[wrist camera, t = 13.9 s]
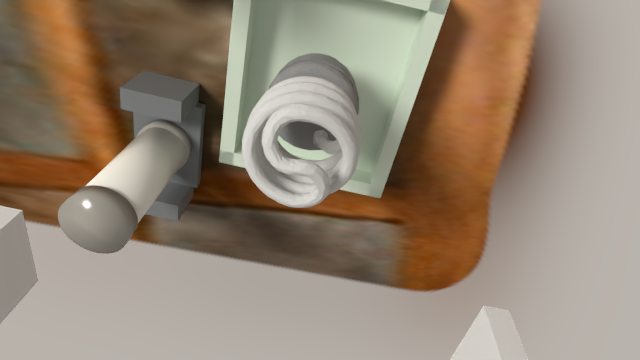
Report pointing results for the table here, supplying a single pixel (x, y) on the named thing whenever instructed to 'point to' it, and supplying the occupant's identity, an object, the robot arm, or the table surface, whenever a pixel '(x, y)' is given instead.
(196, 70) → the table surface
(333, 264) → the table surface
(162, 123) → the fuse
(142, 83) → the clip block
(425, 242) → the table surface
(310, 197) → the light bulb
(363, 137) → the tray
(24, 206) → the table surface
